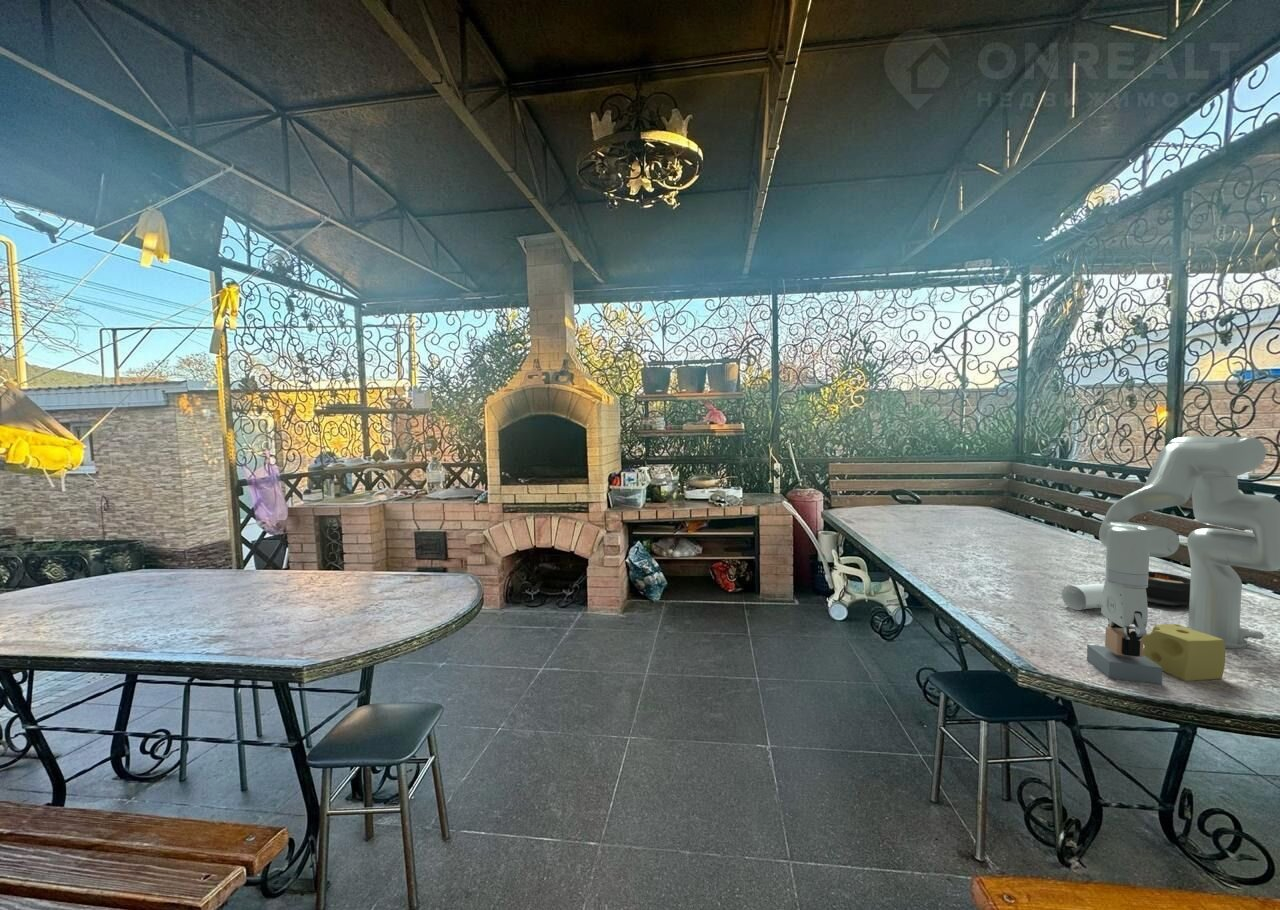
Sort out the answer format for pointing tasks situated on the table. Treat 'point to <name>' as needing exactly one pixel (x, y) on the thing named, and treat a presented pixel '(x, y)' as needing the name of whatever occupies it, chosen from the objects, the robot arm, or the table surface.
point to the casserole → (1168, 589)
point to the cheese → (1185, 652)
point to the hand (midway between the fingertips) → (1123, 649)
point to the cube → (1118, 640)
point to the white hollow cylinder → (1083, 596)
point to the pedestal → (1124, 665)
